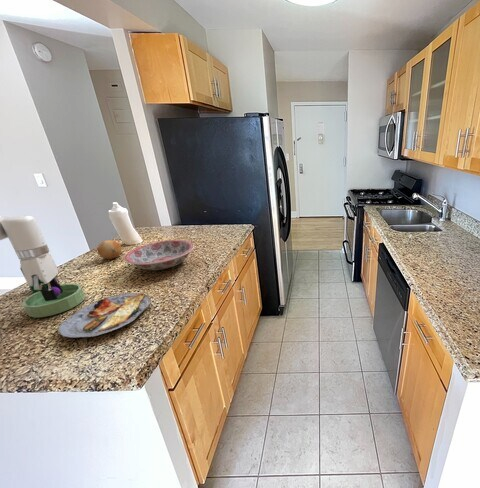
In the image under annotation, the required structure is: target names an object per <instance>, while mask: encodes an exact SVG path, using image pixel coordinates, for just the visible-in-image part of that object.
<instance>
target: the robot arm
mask: <svg viewBox="0 0 480 488" xmlns="http://www.w3.org/2000/svg"><path fill="white" fill-rule="evenodd" d="M5 239H8V240H9V242H10V244H11V246H12V248H13V250H14V252H15V255H16V256H17V258H18V260H19V263H20V265H21V266H20V267H21V268H22V271H23V273H22V275H23V274H24V275H23V277H24V276H25V277H24V279H25V278H26V279H25V282H26V283H27V285H28V287H29V286H34V290H38V291H40V293H42V295H43V297H44V299H45V301H50V300H56V299H57V296H56V294H55V292H54V290H53V289H51V287H57V288H59V289H60V293H62V292H63V290H62V288H61V286H60V285H61V284H60V280H59V278H58V274H59V269H58V266H57V264H56V261H55V260H54V258H53V257H52V255H51V251H50V249H49V247H48V244H47V242H46V240H45V237H44V235H43V233H42V231H41V228H40V226H39V224H38V222H37V220H36V218H35V217H34V216H32V215H28V214H27V215H26V214H25V215H15V216H6V215H5V216H4V215H0V241H2V240H5ZM22 271H21V272H22ZM41 282H44V283H41ZM42 285H46V286H47V287H45V286H42Z"/></svg>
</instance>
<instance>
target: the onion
mask: <svg viewBox="0 0 480 488" xmlns="http://www.w3.org/2000/svg"><path fill="white" fill-rule="evenodd" d="M122 251H123V250H122V245H121V244H120V243H119V242H118V241H116V240H113V239H107V240H103V241H101V242H100V243H99V244H98V245H97V254H98V255H99V256H100V258H102V259H104V260H112V259H115V258H118V257H119V256H120V255H121V254H122Z"/></svg>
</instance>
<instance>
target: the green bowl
mask: <svg viewBox="0 0 480 488" xmlns="http://www.w3.org/2000/svg"><path fill="white" fill-rule="evenodd" d="M60 286H61V288H62V290H63V292H62V293H60V294H59V295H58V296H57V299H56V300H50V301H45V299H44V297H43V295H42V293H40V291H39V292H33V293H32V294H30V295H28V296H27V297H25V298H24V299H23V300H22V303H21V305H22V307H23V310H24V311H25V313H26V315H27V316H28V317H29V318H46V317H51V316H54V315H57V314H61V313H64V312H66V311H68V310H71V309H73V308H75V307H76V306H78V305H80V304H81V303H82V302H84V300H85V299H86V294H85V292H84V289H83V287H82V285H81V284H79V283H74V282H73V283H64V284H63V283H62V284H60Z"/></svg>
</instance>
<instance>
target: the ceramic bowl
mask: <svg viewBox="0 0 480 488" xmlns="http://www.w3.org/2000/svg"><path fill="white" fill-rule="evenodd" d="M194 249H195V244H194V243H193V242H192V241H191V240H186V239H167V240H160V241H155V242H151V243H147V244H143V245H140V246H138V247H136V248H134V249H132V250H130V251H128V252H127V253H126V254H125V255H124V261H125V262H126V263H127V264H129V265H130V264H131V265H133V266H135V267H137V268H139V269H142V270H146V271H160V270H166V269H170V268H174V267H176V266H177V265H180V264H181V263H183V262H184V261H185V260H186V259H187V258H188V256H189V255H190V253H191V252H192V251H193V250H194Z"/></svg>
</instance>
